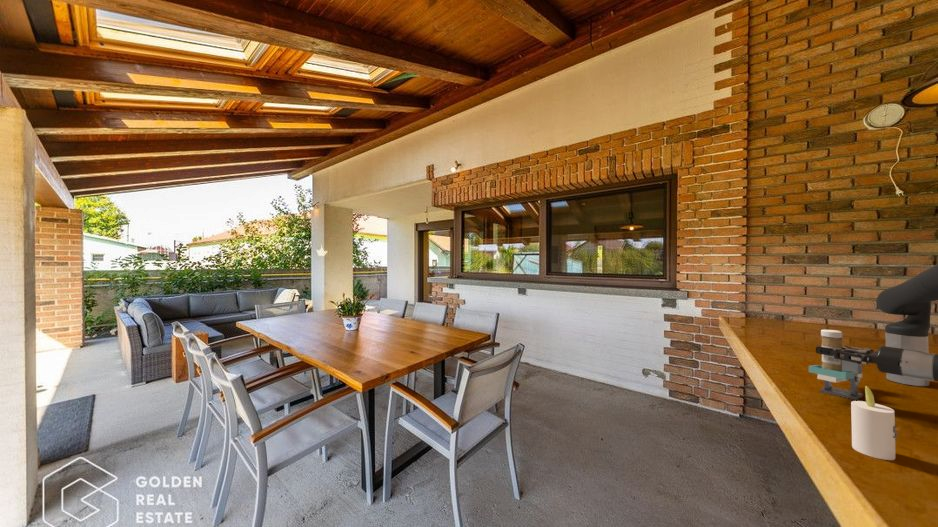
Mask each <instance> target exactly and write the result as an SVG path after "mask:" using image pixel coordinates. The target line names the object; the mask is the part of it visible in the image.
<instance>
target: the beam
mask: <svg viewBox="0 0 938 527" xmlns="http://www.w3.org/2000/svg"><path fill="white" fill-rule="evenodd" d="M808 373H812V374H816V375H817V377H816V379H817V380H820V381H824V380H826V381H830V382H832V383H841V382H850V379H853V378H854V373H857V374H858V377H860V379H863V364H857V363H854V362H849V361H844V360H842V372H839V371H834V370H829V369H824V368H822V364H814V365H808Z"/></svg>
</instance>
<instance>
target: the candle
mask: <svg viewBox="0 0 938 527" xmlns="http://www.w3.org/2000/svg"><path fill="white" fill-rule="evenodd" d="M864 386H865V387H864V393H865V401H863V400H857V401H856V400H853V401H851V402H850V412H851V414H850V416H851V447H852V449H853V450H855V451H856V452H858V453H860V454H863V455H865V456H868V457H871V458H873V459H874V458H875V459H878V460H879V459H880V460H884V461H895V460H896V439H897V437H898V431H897V430H896V428H898V425H895V424H896V421H895V420H896V419H895V414H896V413H895V410H894V409H893V408H891V407H888V406H886V405H883V404H879V403H876V402H875V397H874V393H873V392H872V390H871V389H870V388H869V386H868V385H864Z"/></svg>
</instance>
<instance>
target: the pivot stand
mask: <svg viewBox="0 0 938 527" xmlns="http://www.w3.org/2000/svg"><path fill="white" fill-rule="evenodd" d="M823 381H824V382H823V383H824V386H823V387H821V388H820V390H819V391H820V393H823V394H828V395H831V394H832V395H831V396H835V395H836V397H840V396H841V397H840V398H844V397H846V398H845V399H848V398H850V399H849V400H852V399H854V400H853V401H856V400H857V401H859V398H860V399H861V398H863V397H862V396H864V395H863V393H861V392H859V383H860V382H861V378H860V377H858V374H857V373H854V378H853V379H850V381H849V387H850V389H844V388H840V387H836V386H833V382H830V381H826V380H823Z"/></svg>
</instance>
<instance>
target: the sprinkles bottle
mask: <svg viewBox="0 0 938 527" xmlns="http://www.w3.org/2000/svg"><path fill="white" fill-rule="evenodd" d="M820 336H821V346H822V347H825V348H832V349H840V350H842V346H843V345H842V344H843V343H842V342H843V340H842V339H843V332H842V331H840V330H836V329H821V330H820ZM840 356H843V355H842V353H840ZM821 366H822V368H824V369H829V370H834V371H839V372H842V360H840V359H835V358H834V357H833V356H829V355H823V354H821Z"/></svg>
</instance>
